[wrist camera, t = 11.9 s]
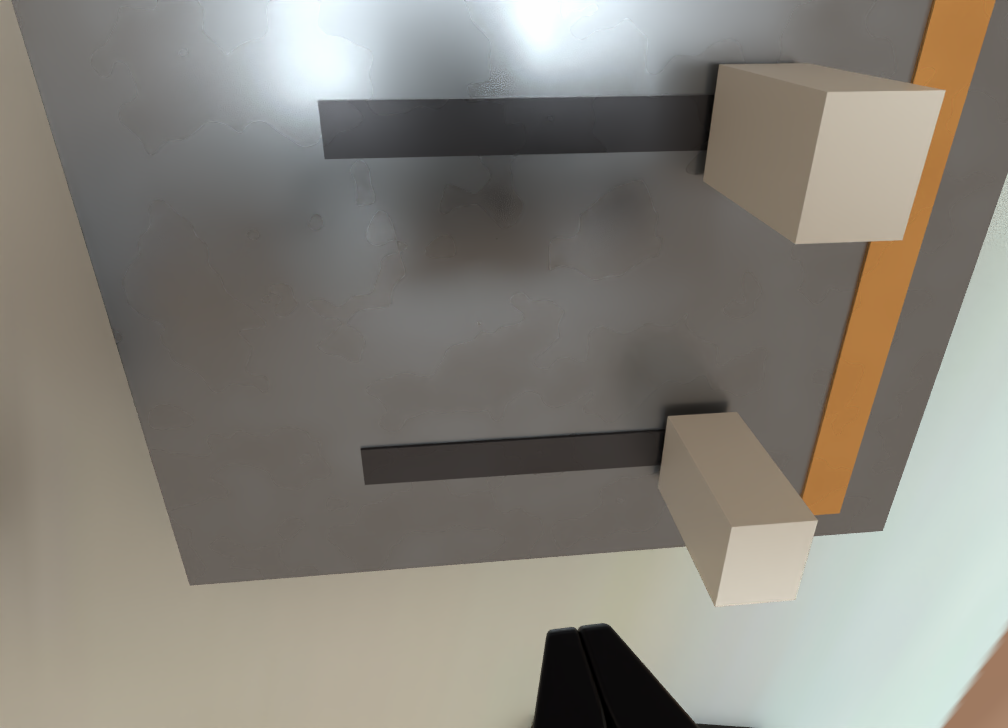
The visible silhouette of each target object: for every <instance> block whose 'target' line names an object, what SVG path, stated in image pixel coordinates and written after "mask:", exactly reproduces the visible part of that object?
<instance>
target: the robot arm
mask: <svg viewBox="0 0 1008 728" xmlns="http://www.w3.org/2000/svg"><path fill="white" fill-rule="evenodd" d="M533 728H699V727H698V726H697V724H696V723H695V722H694V721H693V720H692V719H691V718H690V716H689V715H688V714H687V713H686V712H685V711H684V710H683V708H682V707H681V706H680V705H679V704H678V703H677V702H676V700H675V699H674V698H673V697H672V696H671V695H670V694H669V692H668V691H667V690H666V689H665V688H664V687H663V686H662V684H661V683H660V682H659V681H658V680H657V679H656V678H655V676H654V675H653V674H652V673H651V672H650V671H649V670H648V668H647V667H646V666H645V665H644V664H643V663H642V662H641V660H640V659H639V658H638V657H637V656H636V655H635V654H634V652H633V651H632V650H631V649H630V648H629V647H628V646H627V644H626V643H625V642H624V641H623V640H622V639H621V638H620V636H619V635H618V634H617V633H616V632H615V631H614V630H613V629H612V628H611V626H609V625H607V624H605V623H600V624H592V625H584V626H581V627H580V628H579V629H578V631H577V629H576V628H574V627H569V628H561V629H553V630H550V631H548V633H547V636H546V642H545V649H544V655H543V662H542V668H541V675H540V682H539V688H538V695H537V702H536V708H535V715H534V722H533Z"/></svg>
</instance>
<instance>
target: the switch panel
mask: <svg viewBox="0 0 1008 728" xmlns="http://www.w3.org/2000/svg"><path fill="white" fill-rule="evenodd" d="M12 3H13V7H14V10H15V13H16V17H17V20H18V23H19V26H20V30H21V33H22V36H23V40H24V43H25V46H26V49H27V53H28V56H29V59H30V62H31V66H32V69H33V72H34V76H35V79H36V82H37V85H38V89H39V92H40V95H41V99H42V102H43V105H44V108H45V112H46V115H47V118H48V122H49V125H50V128H51V131H52V135H53V138H54V141H55V144H56V148H57V151H58V154H59V158H60V161H61V164H62V167H63V171H64V174H65V177H66V181H67V184H68V187H69V190H70V194H71V197H72V200H73V204H74V207H75V210H76V213H77V217H78V220H79V223H80V226H81V230H82V233H83V236H84V240H85V243H86V246H87V249H88V253H89V256H90V259H91V263H92V266H93V269H94V272H95V276H96V279H97V282H98V286H99V289H100V292H101V295H102V299H103V302H104V305H105V308H106V312H107V315H108V318H109V322H110V325H111V328H112V331H113V335H114V338H115V341H116V345H117V348H118V351H119V354H120V358H121V361H122V364H123V368H124V371H125V374H126V377H127V381H128V384H129V387H130V390H131V394H132V397H133V400H134V404H135V407H136V410H137V413H138V417H139V420H140V423H141V427H142V430H143V433H144V436H145V440H146V443H147V446H148V450H149V453H150V456H151V459H152V463H153V466H154V469H155V472H156V476H157V479H158V482H159V486H160V489H161V492H162V495H163V499H164V502H165V505H166V509H167V512H168V515H169V518H170V522H171V525H172V528H173V531H174V535H175V538H176V541H177V545H178V548H179V551H180V554H181V558H182V561H183V564H184V568H185V571H186V574H187V577H188V581H189V584H190V585H202V584H214V583H227V582H240V581H252V580H265V579H278V578H290V577H303V576H316V575H328V574H341V573H354V572H366V571H379V570H392V569H405V568H417V567H430V566H443V565H455V564H468V563H481V562H493V561H506V560H519V559H531V558H544V557H557V556H569V555H582V554H595V553H607V552H620V551H633V550H645V549H658V548H671V547H683V546H686V545H685V543H684V541H683V539H682V536H681V534H680V532H679V530H678V528H677V526H676V524H675V522H674V520H673V518H672V515H671V513H670V511H669V509H668V507H667V505H666V503H665V501H664V499H663V497H662V494H661V492H660V490H659V488H658V484H659V476H660V469H661V462H662V454H663V447H664V440H665V433H666V425H667V418H668V416H678V415H694V414H711V413H727V412H737V413H738V414H739V415H740V417H741V418H742V419H743V421H744V422H745V423H746V425H747V426H748V427H749V429H750V430H751V431H752V433H753V434H754V435H755V437H756V438H757V439H758V441H759V442H760V443H761V445H762V446H763V447H764V449H765V450H766V451H767V453H768V454H769V455H770V457H771V458H772V459H773V461H774V462H775V463H776V465H777V466H778V467H779V469H780V470H781V471H782V473H783V474H784V476H785V477H786V478H787V480H788V481H789V482H790V484H791V485H792V486H793V488H794V489H795V490H796V492H797V493H798V494H799V496H800V497H801V498H802V500H803V501H804V502H805V504H806V505H807V506H808V508H809V509H810V510H811V512H812V513H813V514H814V516H815V517H816V518H817V520H818V522H817V526H816V529H815V533H814V536H823V535H836V534H848V533H861V532H874V531H883V528H884V525H885V523H886V520H887V517H888V514H889V511H890V508H891V505H892V503H893V500H894V497H895V494H896V491H897V488H898V485H899V482H900V480H901V477H902V474H903V471H904V468H905V465H906V462H907V460H908V457H909V454H910V451H911V448H912V445H913V442H914V439H915V437H916V434H917V431H918V428H919V425H920V422H921V419H922V417H923V414H924V411H925V408H926V405H927V402H928V399H929V396H930V394H931V391H932V388H933V385H934V382H935V379H936V376H937V374H938V371H939V368H940V365H941V362H942V359H943V356H944V354H945V351H946V348H947V345H948V342H949V339H950V336H951V333H952V331H953V328H954V325H955V322H956V319H957V316H958V313H959V311H960V308H961V305H962V302H963V299H964V296H965V293H966V290H967V288H968V285H969V282H970V279H971V276H972V273H973V270H974V268H975V265H976V262H977V259H978V256H979V253H980V250H981V247H982V245H983V242H984V239H985V236H986V233H987V230H988V227H989V225H990V222H991V219H992V216H993V213H994V210H995V207H996V205H997V202H998V199H999V196H1000V193H1001V190H1002V187H1003V184H1004V182H1005V179H1006V176H1007V173H1008V0H12ZM778 63H810V64H815V65H820V66H825V67H830V68H835V69H840V70H845V71H850V72H855V73H860V74H866V75H871V76H876V77H881V78H886V79H891V80H896V81H901V82H906V83H911V84H916V85H922V86H927V87H932V88H937V89H942V90H946V91H945V95H944V98H943V102H942V105H941V109H940V112H939V116H938V119H937V122H936V126H935V129H934V133H933V136H932V140H931V143H930V147H929V150H928V154H927V157H926V160H925V164H924V167H923V171H922V174H921V178H920V181H919V185H918V188H917V192H916V195H915V198H914V202H913V205H912V209H911V212H910V216H909V219H908V223H907V226H906V230H905V233H904V236H903V240H895V241H868V242H841V243H813V244H794V243H793V242H791V241H790V240H788V239H787V238H785V237H784V236H783V235H781V234H780V233H778V232H777V231H775V230H774V229H772V228H771V227H769V226H768V225H767V224H765V223H764V222H762V221H761V220H759V219H758V218H756V217H755V216H753V215H752V214H750V213H749V212H748V211H746V210H745V209H743V208H742V207H740V206H739V205H737V204H736V203H734V202H733V201H731V200H730V199H729V198H727V197H726V196H724V195H723V194H721V193H720V192H718V191H717V190H715V189H714V188H712V187H711V186H710V185H708V184H707V183H705V182H704V181H703V177H704V170H705V163H706V156H707V148H708V141H709V134H710V127H711V120H712V112H713V105H714V98H715V91H716V83H717V76H718V69H719V64H778Z"/></svg>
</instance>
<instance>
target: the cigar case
mask: <svg viewBox="0 0 1008 728" xmlns="http://www.w3.org/2000/svg"><path fill="white" fill-rule="evenodd" d="M697 726H698V727H699V728H750V727H736V726H722V725H708V724H697Z"/></svg>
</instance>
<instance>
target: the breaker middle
mask: <svg viewBox="0 0 1008 728" xmlns="http://www.w3.org/2000/svg"><path fill="white" fill-rule="evenodd" d="M945 91H946V90H942V89H937V88H932V87H927V86H922V85H916V84H911V83H906V82H901V81H896V80H891V79H886V78H881V77H876V76H871V75H866V74H860V73H855V72H850V71H845V70H840V69H835V68H830V67H825V66H820V65H815V64H810V63H778V64H719V69H718V76H717V83H716V91H715V98H714V105H713V112H712V120H711V127H710V134H709V141H708V148H707V156H706V163H705V170H704V177H703V181H704V182H705V183H707V184H708V185H710V186H711V187H712V188H714V189H715V190H717V191H718V192H720V193H721V194H723V195H724V196H726V197H727V198H729V199H730V200H731V201H733V202H734V203H736V204H737V205H739V206H740V207H742V208H743V209H745V210H746V211H748V212H749V213H750V214H752V215H753V216H755V217H756V218H758V219H759V220H761V221H762V222H764V223H765V224H767V225H768V226H769V227H771V228H772V229H774V230H775V231H777V232H778V233H780V234H781V235H783V236H784V237H785V238H787V239H788V240H790V241H791V242H793V243H794V244H813V243H841V242H868V241H895V240H903V236H904V233H905V230H906V226H907V223H908V219H909V216H910V212H911V209H912V205H913V202H914V198H915V195H916V192H917V188H918V185H919V181H920V178H921V174H922V171H923V167H924V164H925V160H926V157H927V154H928V150H929V147H930V143H931V140H932V136H933V133H934V129H935V126H936V122H937V119H938V116H939V112H940V109H941V105H942V102H943V98H944V95H945Z"/></svg>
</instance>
